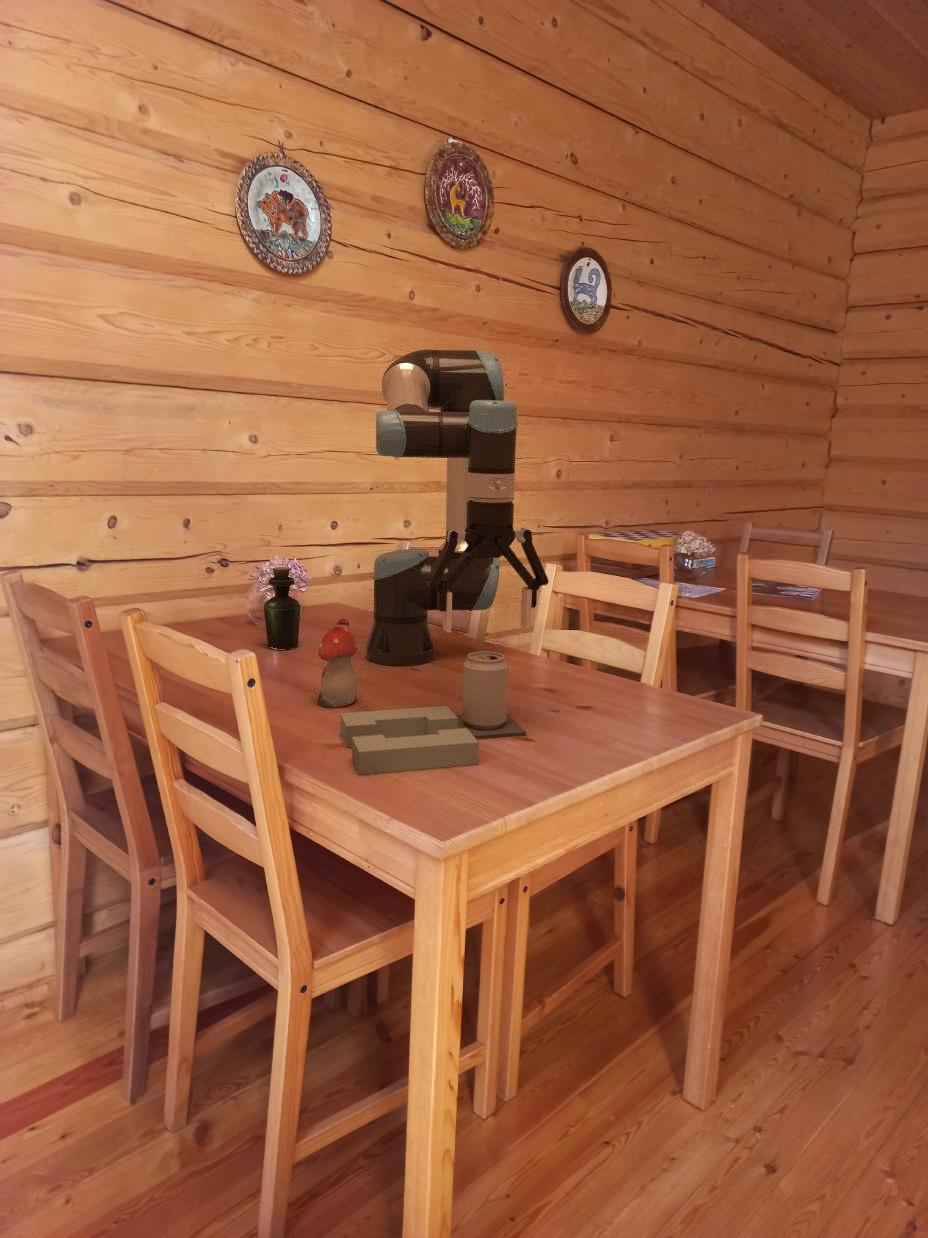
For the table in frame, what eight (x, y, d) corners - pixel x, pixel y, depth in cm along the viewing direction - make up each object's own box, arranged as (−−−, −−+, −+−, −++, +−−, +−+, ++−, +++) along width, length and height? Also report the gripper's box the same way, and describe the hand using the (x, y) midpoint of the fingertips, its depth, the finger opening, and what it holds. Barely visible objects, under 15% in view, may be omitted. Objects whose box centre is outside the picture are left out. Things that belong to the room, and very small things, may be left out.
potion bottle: (271, 653, 195) (269, 572, 191) (259, 645, 201) (257, 566, 198) (306, 649, 199) (305, 569, 195) (294, 641, 205) (292, 564, 202)
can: (513, 728, 147) (515, 658, 145) (471, 732, 145) (472, 661, 142) (496, 714, 154) (498, 647, 152) (456, 718, 152) (457, 650, 149)
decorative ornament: (340, 693, 167) (339, 615, 164) (368, 699, 164) (368, 619, 160) (307, 705, 159) (306, 624, 156) (336, 712, 156) (336, 628, 153)
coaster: (444, 719, 153) (444, 715, 153) (504, 714, 156) (504, 711, 156) (462, 740, 143) (462, 736, 143) (526, 735, 146) (526, 731, 146)
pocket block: (340, 733, 145) (340, 713, 144) (446, 725, 150) (447, 705, 149) (359, 775, 128) (359, 752, 127) (478, 764, 133) (478, 742, 132)
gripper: (419, 502, 135) (418, 637, 139) (572, 501, 142) (565, 630, 146) (408, 497, 142) (407, 626, 146) (554, 496, 149) (548, 620, 153)
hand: (486, 628), depth 146 cm, fingers open, 13 cm apart
